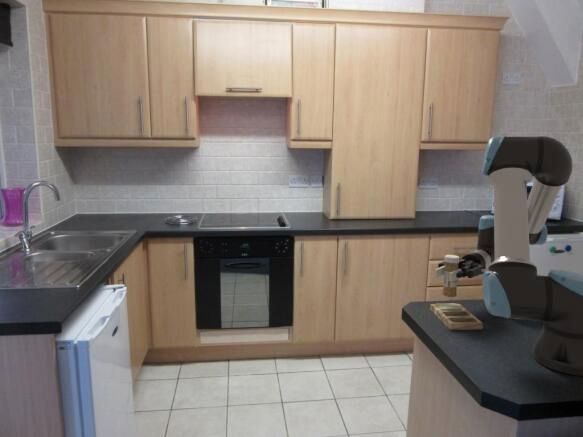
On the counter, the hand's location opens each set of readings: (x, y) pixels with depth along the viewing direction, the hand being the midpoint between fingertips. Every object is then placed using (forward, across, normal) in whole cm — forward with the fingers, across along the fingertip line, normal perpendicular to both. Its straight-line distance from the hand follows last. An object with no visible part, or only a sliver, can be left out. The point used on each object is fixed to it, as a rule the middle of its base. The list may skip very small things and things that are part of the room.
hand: (442, 275), depth 141 cm
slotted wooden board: (-2, -4, -14) cm, 15 cm away
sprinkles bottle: (-5, 0, -8) cm, 10 cm away
